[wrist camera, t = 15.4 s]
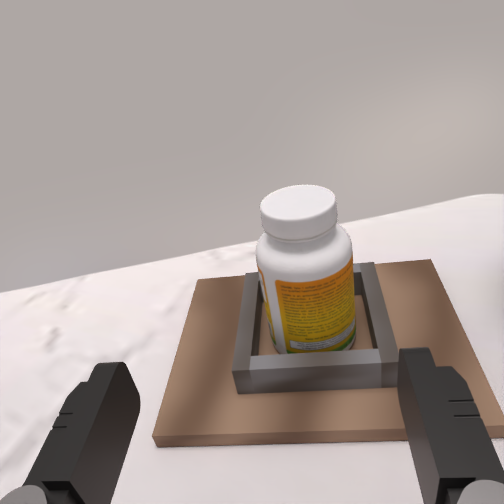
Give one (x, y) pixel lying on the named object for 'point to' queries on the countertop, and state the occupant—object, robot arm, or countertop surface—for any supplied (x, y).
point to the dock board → (311, 365)
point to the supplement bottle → (306, 271)
